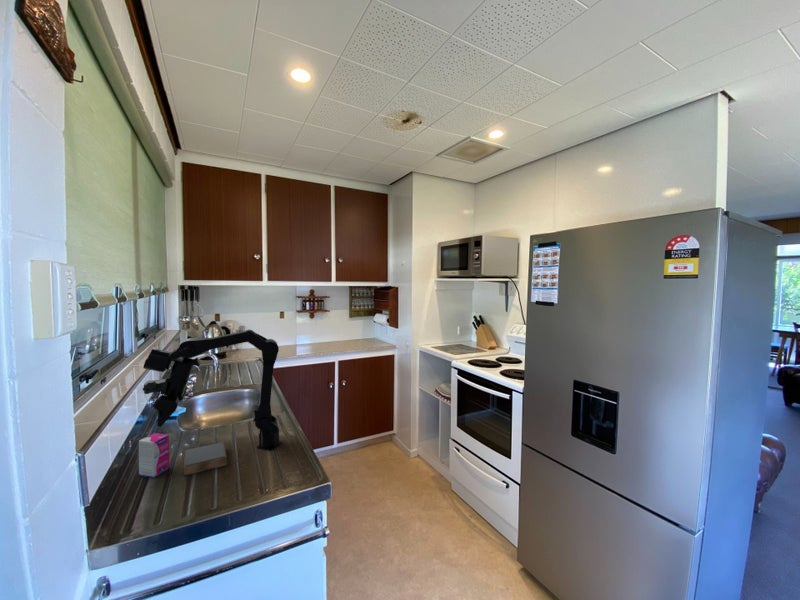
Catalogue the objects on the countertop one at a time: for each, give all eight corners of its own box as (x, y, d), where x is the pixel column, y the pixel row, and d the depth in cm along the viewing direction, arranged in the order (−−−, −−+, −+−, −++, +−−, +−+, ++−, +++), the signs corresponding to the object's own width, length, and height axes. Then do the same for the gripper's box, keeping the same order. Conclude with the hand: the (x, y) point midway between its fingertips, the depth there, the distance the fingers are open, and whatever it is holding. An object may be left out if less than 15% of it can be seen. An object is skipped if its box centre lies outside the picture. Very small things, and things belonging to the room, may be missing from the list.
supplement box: (154, 478, 103) (152, 442, 102) (138, 476, 104) (137, 440, 103) (170, 468, 109) (169, 434, 108) (155, 466, 110) (154, 432, 109)
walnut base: (224, 449, 121) (224, 441, 121) (227, 465, 111) (226, 456, 111) (185, 458, 115) (185, 449, 115) (184, 475, 105) (183, 466, 104)
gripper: (159, 363, 117) (142, 406, 115) (143, 377, 100) (123, 428, 98) (194, 370, 121) (178, 412, 120) (184, 385, 104) (166, 434, 103)
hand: (162, 420), depth 110 cm, fingers open, 9 cm apart
